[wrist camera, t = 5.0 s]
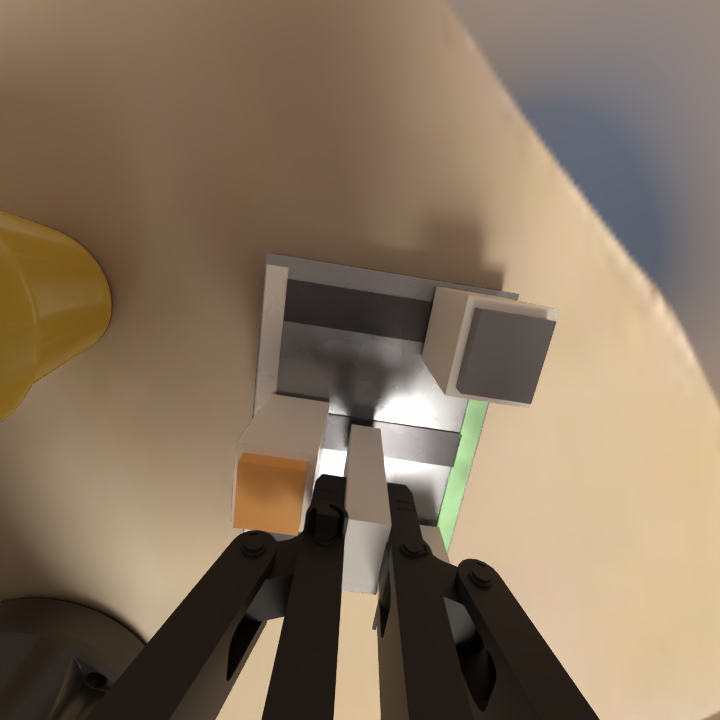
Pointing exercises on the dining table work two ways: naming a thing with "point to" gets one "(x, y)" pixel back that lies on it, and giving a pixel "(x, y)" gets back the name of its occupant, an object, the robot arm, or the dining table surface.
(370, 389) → the panel
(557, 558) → the dining table surface
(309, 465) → the block
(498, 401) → the breaker
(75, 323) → the plant pot
